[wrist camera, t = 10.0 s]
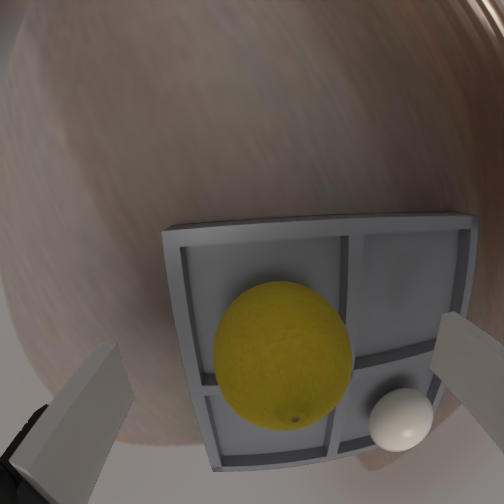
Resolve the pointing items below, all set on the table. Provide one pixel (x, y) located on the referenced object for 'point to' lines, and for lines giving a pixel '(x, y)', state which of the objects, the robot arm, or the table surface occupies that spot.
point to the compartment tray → (339, 296)
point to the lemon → (282, 356)
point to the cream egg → (400, 419)
